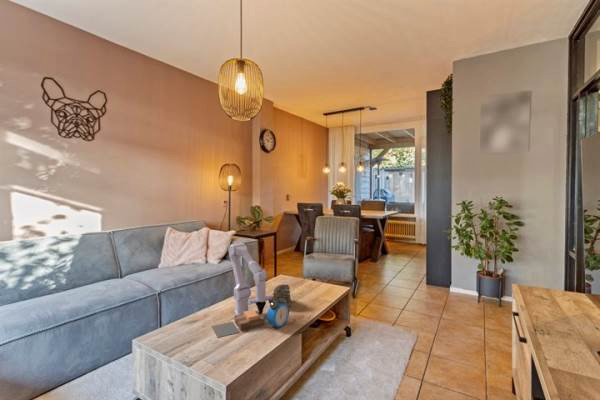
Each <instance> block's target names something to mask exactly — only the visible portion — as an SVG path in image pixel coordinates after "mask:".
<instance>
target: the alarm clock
mask: <svg viewBox="0 0 600 400" xmlns="http://www.w3.org/2000/svg"><path fill="white" fill-rule="evenodd" d="M278 301H280V302H278ZM278 301H273V302H271V304H270V303H269V304H270V305H269V307H268V310H267V313H266V320H267V322H268V324H269V325H271V326H274V327H275V328H276V329H279V328H283V326H285V325H286V323H287V322H288V319H289V316H290V309H289V306H287V305H286V304H284V303H286V300H285V299H283V298H280V299H279V300H278ZM282 302H283V303H282Z"/></svg>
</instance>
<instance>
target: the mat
mask: <svg viewBox="0 0 600 400" xmlns="http://www.w3.org/2000/svg"><path fill="white" fill-rule="evenodd" d="M211 328H212V330H213V332H214V333H215V336H216V337H217V338H222V337H228V336H230V335H235V334H238V333H239V334H240V333H241V331H240V329H239V328H238V326H237V325H236V324H235V322H234V321H229V322H224V323H220V324H219V323H218V324H216V325H215V324H214V325H212V326H211Z"/></svg>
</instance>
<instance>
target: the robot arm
mask: <svg viewBox="0 0 600 400" xmlns="http://www.w3.org/2000/svg"><path fill="white" fill-rule="evenodd" d="M227 250H228V255H229V259H230V263H231V266H232V271H233V276H234V279H235V286H234V288H233V298H234V300H235V308H234V309H233V311H234V313H235V314H236V315H240V314H244V311H249V305H251V304H255V305H256V308H257V311H258V313H259V314H260V315H262V314H263V312H264V309H265V306H266V304H267V302H266V301H269V300H272V297H273V295H267V296H266V280H267V279H268V277H269V275H268V272H267V270H266V269H263V268H261V266H260V265H259V263H258V262H257V260H253V258H252V256H251V254H250V253H249V251H248V246H247V245H246V244H245V243H244V242H240V243H236V244H234V243H233V244H230V245H229V246H228V249H227ZM241 257H242V258H243V259H244V261H245V262H246V263H247V264H248V269H249V270H250V272H251V274H252V275H253V281H254V284H255V297H254V298H251V299H250V297H251V296H252V291H251V289H250V285H249V284H247V283H246V281H245V277H244V274H243V269H242V265H241V261H240V260H241V259H240V258H241Z"/></svg>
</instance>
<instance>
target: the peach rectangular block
mask: <svg viewBox="0 0 600 400" xmlns="http://www.w3.org/2000/svg"><path fill="white" fill-rule="evenodd" d="M255 311H256V310H254V309H248V311H244V316H245V317H246V318H247V320H248V321H251V320H256V319H259V315H258V314H257V313H256V312H255Z"/></svg>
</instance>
